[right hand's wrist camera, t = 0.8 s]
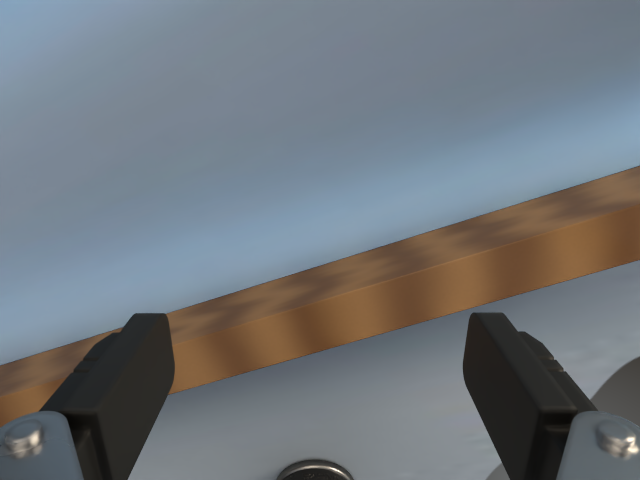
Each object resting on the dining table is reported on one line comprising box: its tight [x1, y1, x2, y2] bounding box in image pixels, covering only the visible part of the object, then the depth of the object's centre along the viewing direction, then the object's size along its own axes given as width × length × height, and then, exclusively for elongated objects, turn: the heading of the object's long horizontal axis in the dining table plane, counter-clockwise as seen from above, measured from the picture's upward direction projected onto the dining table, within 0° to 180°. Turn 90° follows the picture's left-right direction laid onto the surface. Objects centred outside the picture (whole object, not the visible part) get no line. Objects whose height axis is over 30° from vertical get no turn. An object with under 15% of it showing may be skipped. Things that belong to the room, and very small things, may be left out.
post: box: [0, 166, 640, 427], centre depth 38 cm, size 77×4×6 cm, turn 109°
